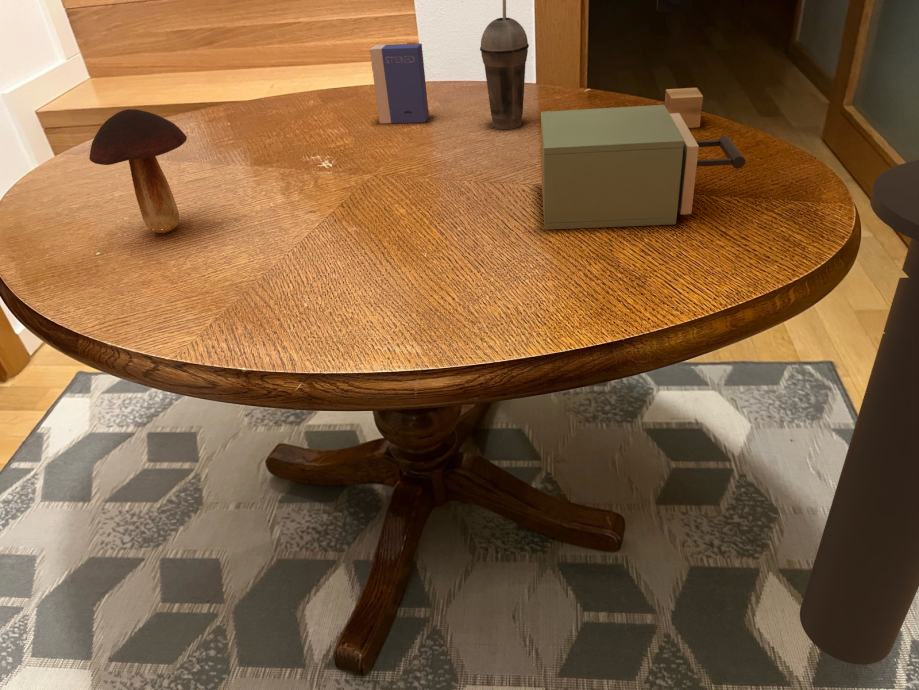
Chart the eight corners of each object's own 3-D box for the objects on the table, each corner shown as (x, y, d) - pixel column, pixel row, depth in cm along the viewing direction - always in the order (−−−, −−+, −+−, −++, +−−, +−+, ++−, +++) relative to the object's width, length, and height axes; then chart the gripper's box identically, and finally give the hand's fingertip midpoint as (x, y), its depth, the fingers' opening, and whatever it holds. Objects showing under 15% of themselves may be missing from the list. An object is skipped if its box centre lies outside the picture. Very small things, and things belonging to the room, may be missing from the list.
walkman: (429, 117, 121) (421, 40, 114) (425, 122, 119) (417, 45, 112) (383, 118, 123) (373, 42, 116) (379, 123, 120) (368, 46, 114)
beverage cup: (478, 131, 113) (469, -11, 102) (491, 116, 119) (484, -20, 108) (524, 132, 111) (520, -12, 100) (535, 117, 117) (532, -21, 105)
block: (663, 119, 111) (665, 89, 109) (693, 117, 111) (696, 87, 108) (668, 129, 107) (671, 98, 105) (699, 127, 107) (703, 96, 104)
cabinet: (658, 181, 92) (664, 104, 87) (676, 224, 82) (684, 140, 76) (541, 186, 93) (540, 111, 88) (544, 230, 83) (543, 147, 78)
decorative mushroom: (106, 253, 87) (57, 128, 79) (141, 214, 96) (101, 99, 88) (195, 248, 86) (156, 121, 78) (222, 209, 95) (190, 92, 87)
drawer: (720, 173, 90) (729, 110, 86) (744, 212, 81) (754, 143, 76) (564, 180, 92) (564, 119, 88) (569, 219, 83) (569, 152, 78)
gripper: (753, -223, 56) (723, 16, 66) (705, -210, 70) (686, -15, 80) (653, -214, 57) (639, 22, 67) (625, -203, 71) (617, -10, 81)
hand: (665, 1), depth 73 cm, fingers open, 9 cm apart
